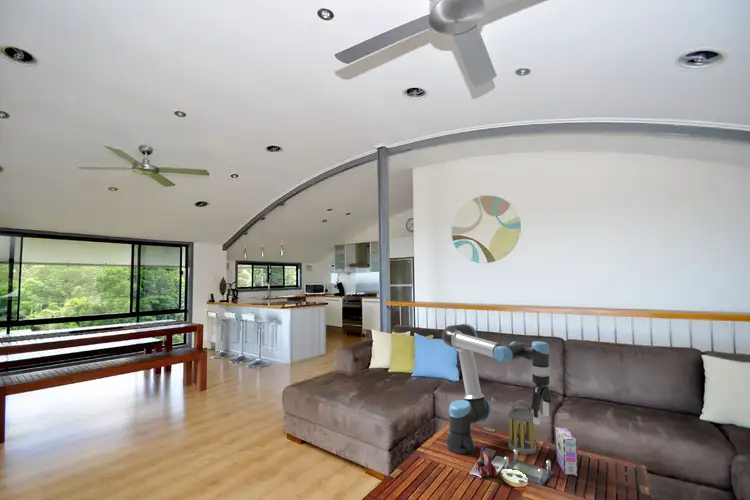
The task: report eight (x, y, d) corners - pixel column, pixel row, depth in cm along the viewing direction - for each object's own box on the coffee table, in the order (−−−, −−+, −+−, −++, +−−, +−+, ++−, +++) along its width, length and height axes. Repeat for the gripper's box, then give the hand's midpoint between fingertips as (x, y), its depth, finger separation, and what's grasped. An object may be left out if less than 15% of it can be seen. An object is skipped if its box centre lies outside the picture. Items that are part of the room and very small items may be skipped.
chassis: (503, 470, 175) (503, 457, 175) (514, 460, 184) (514, 448, 185) (542, 485, 163) (542, 471, 163) (552, 474, 172) (552, 460, 172)
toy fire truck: (489, 466, 179) (488, 444, 180) (498, 480, 167) (497, 456, 168) (474, 466, 179) (474, 444, 180) (482, 480, 167) (482, 456, 168)
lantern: (527, 441, 206) (525, 395, 208) (541, 453, 192) (540, 404, 194) (503, 442, 204) (502, 396, 206) (516, 455, 190) (515, 405, 192)
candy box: (578, 476, 170) (576, 439, 171) (564, 475, 171) (563, 438, 172) (568, 461, 184) (567, 427, 185) (556, 460, 185) (554, 426, 186)
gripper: (540, 381, 165) (540, 430, 164) (556, 371, 184) (557, 414, 183) (523, 378, 170) (523, 425, 169) (541, 368, 189) (541, 410, 188)
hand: (541, 419), depth 176 cm, fingers open, 13 cm apart
